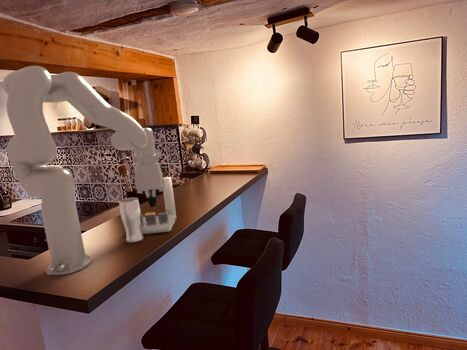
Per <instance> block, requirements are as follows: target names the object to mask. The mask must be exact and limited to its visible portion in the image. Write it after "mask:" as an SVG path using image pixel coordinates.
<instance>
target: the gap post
mask: <svg viewBox="0 0 467 350" xmlns="http://www.w3.org/2000/svg"><path fill="white" fill-rule="evenodd" d="M163 181H164V188H165V190H164V191H162V193H163V199H164V201H163V202H164V206H165V207H164V208H165V213H166V212H168V215H174V217H175V220H177V212H176V203H175V198H174V189H173V181H172V176H165V177H164V176H163Z"/></svg>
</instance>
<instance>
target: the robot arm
mask: <svg viewBox="0 0 467 350" xmlns="http://www.w3.org/2000/svg"><path fill="white" fill-rule="evenodd" d="M2 81H3V82H2V87H3V90H4V92H5V93H6V95H7V99H6V113H7V116H8V117H7V118H8V120H9V123H10V125H11V129H12V131H13V134H14V135H13V136H12V137H11V138H10V139H9V140H8V142H7V146H6V154H7V157H8V159H9V162H10V165H11V166H12V167H11V168H12V169H13V171H14V173H15V175H16V177H17V179H18V182H19V184H20V186H21V187H22V189H23V190H24V191H25V193H27V194H28V195H30V196H33V197H37V198H41V205H40V206H41V208H40V212H41V219H42V223H43V228H44V232H45V237H46V241H47V247H48V251H49V256H50V265H48V266H47V268H46V269H45V273H46V275H48V276H51V275H52V276H63V275H68V274H72V273H73V274H74V273H75V272H79V271H81V270H83V269H85V268H87V267H88V266H90V265H91V263H92V262H93V261H92V260H93V259H92V257H91V255H89V254H86V251H85V246H84V241H83V236H82V235H83V234H82V230H81V226H80V225H81V224H80V220H79V215H78V209H77V203H76V195H75V194H76V184H75V183H76V182H75V178H74V177H73V174H71V172H70V171H69V170H67V169H65V168H64V167H61V166H49V165H48V163H51V162H53V161H54V160H55V159H56V157H57V153H58V150H57V149H58V148H57V145H56V143H55V141H54V138H53V135H52V133H51V131H50V128H49V126H48V123H47V121H46V118H45V115H44V111H43V107H44V106H43V105H44V103H63V102H68V104H70V105H71V106H72V107H73V108H74V109H75V110H76V111H77V112H78V113H79V114H80V115H82V116H83V117H84V118H85V119H86V120H87V121H89V122H90V123H92V124H95V125H97V126H101V127H105V128H108V129H110V130H113V131H115V132H114V133H112V134H111V137H110V144H111V145H112V147H113V148H114V149H116V150H118V151H134V154H135V157H134V158H132V163H136V165H134V182H135V183H134V184H135V189H136V192H137V194H142V195H144V196H146V198H147V201H148V205H149V207H150V208H155V207H156V206H157V204H158V199H157V195H158V194H159V193H161V192H163V191H164V190H165V188H164V181H163V178H164V176H163V172H162V168H161V165H160V163H159V162H158V160H157V159H158V158H157V155H156V154H157V153H156V146H155V138H154V132H153V129H152V128H150V127H142V126H141V125H140V124H139V123H138V122H137V121H136V119H134V118H133V117H132V116H130V115H129V114H127V113H126V112H124V111H121V110H120V109H118V108H116V107H115V106H113V105H111V104H109V103H108V102H107V101H106V100H105V99H104V98H103V97H102V96H101V95H100V94H99V93H98V92H97V91H96V90H95V89H94V88H93V87H92V85H90V84H89V83H88V81H86V80H85V79H84V78H83V77H82V76H81V75H80V74H78V73H77V72H74V71H64V72H61V73H58V74H54V75H51V74H50V72H49V71H48V70H47V69H46V68H45V67H43V66H40V65H30V66H26V67H23V68H21V69H17V70H14V71H12V72H11V71H10V72H9V73H8V74H6V76H5V77H4V79H3V80H2Z"/></svg>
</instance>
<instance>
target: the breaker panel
mask: <svg viewBox="0 0 467 350" xmlns="http://www.w3.org/2000/svg"><path fill="white" fill-rule="evenodd" d="M168 217H169V219H168V220H161V221H159V219H158V215H156V221H151V222H146V218H145V217H143V218H144V221H143V222H141V232H142V235H148V234H158V233H159V234H160V233H168V232H169V231H170V232H171V230H172V229H173V226H174V225H173V224H175V223H176V219H175V217H174V215H168ZM170 232H169V233H170Z"/></svg>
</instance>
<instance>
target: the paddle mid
mask: <svg viewBox="0 0 467 350" xmlns="http://www.w3.org/2000/svg"><path fill="white" fill-rule="evenodd" d="M156 216H157V215H156V212H146V213H145V214H144V218H146V222H151V221H156Z"/></svg>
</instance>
